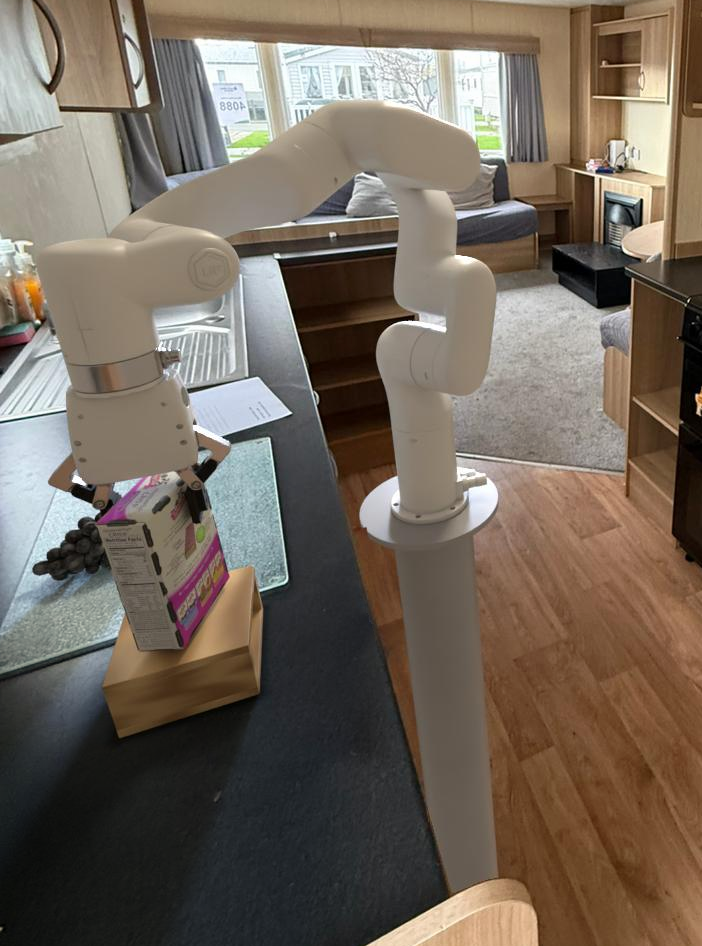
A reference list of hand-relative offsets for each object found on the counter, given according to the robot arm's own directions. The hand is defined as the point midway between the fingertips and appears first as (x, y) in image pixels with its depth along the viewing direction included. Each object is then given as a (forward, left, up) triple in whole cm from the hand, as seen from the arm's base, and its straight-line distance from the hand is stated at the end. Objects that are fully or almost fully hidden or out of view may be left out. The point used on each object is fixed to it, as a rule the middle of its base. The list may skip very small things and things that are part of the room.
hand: (161, 523), depth 69 cm
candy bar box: (0, 0, -12) cm, 12 cm away
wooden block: (0, 0, -20) cm, 20 cm away
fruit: (+14, -26, -20) cm, 36 cm away
